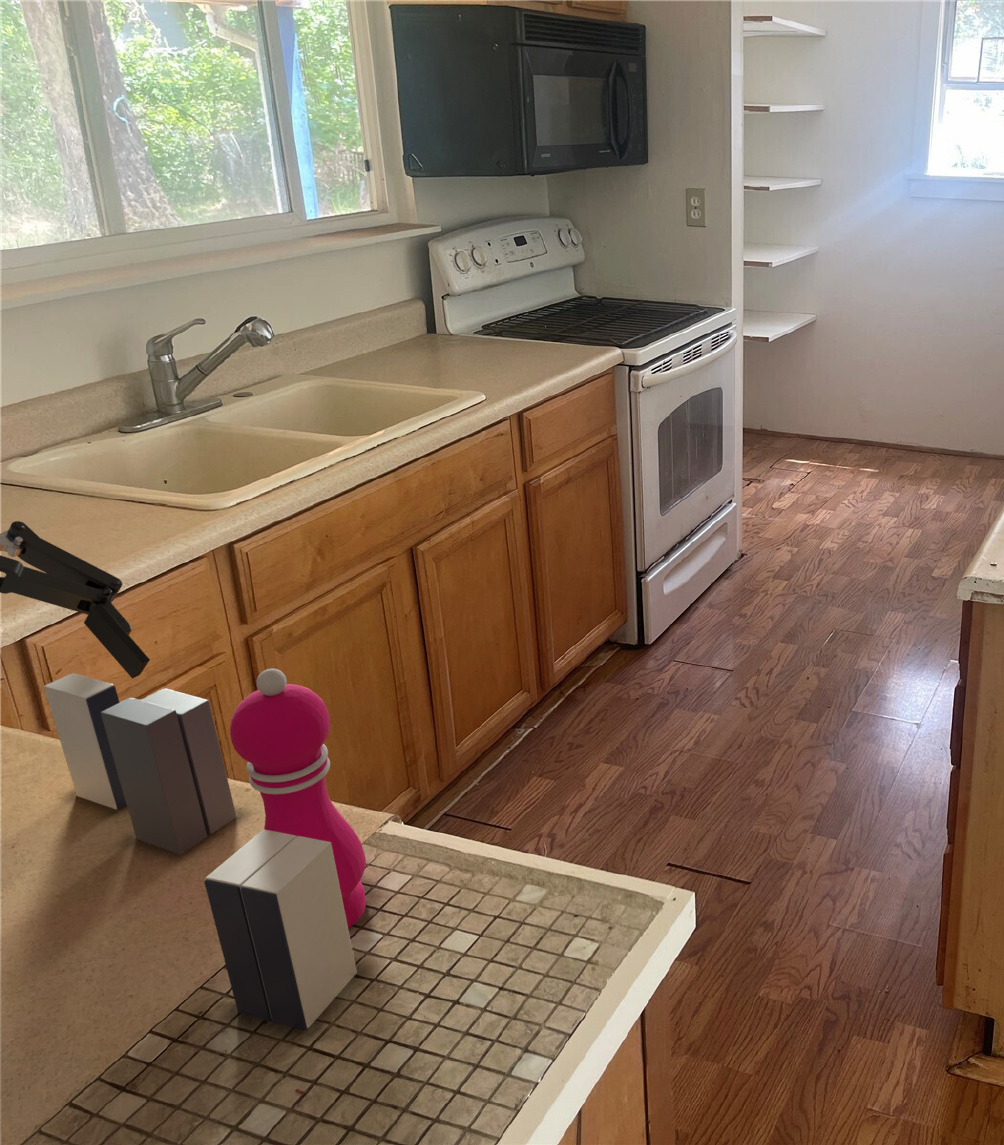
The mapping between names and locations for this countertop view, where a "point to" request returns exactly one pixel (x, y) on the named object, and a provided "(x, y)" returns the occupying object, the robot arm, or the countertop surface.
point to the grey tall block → (282, 927)
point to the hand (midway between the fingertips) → (67, 705)
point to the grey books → (170, 768)
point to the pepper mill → (297, 774)
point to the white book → (86, 736)
